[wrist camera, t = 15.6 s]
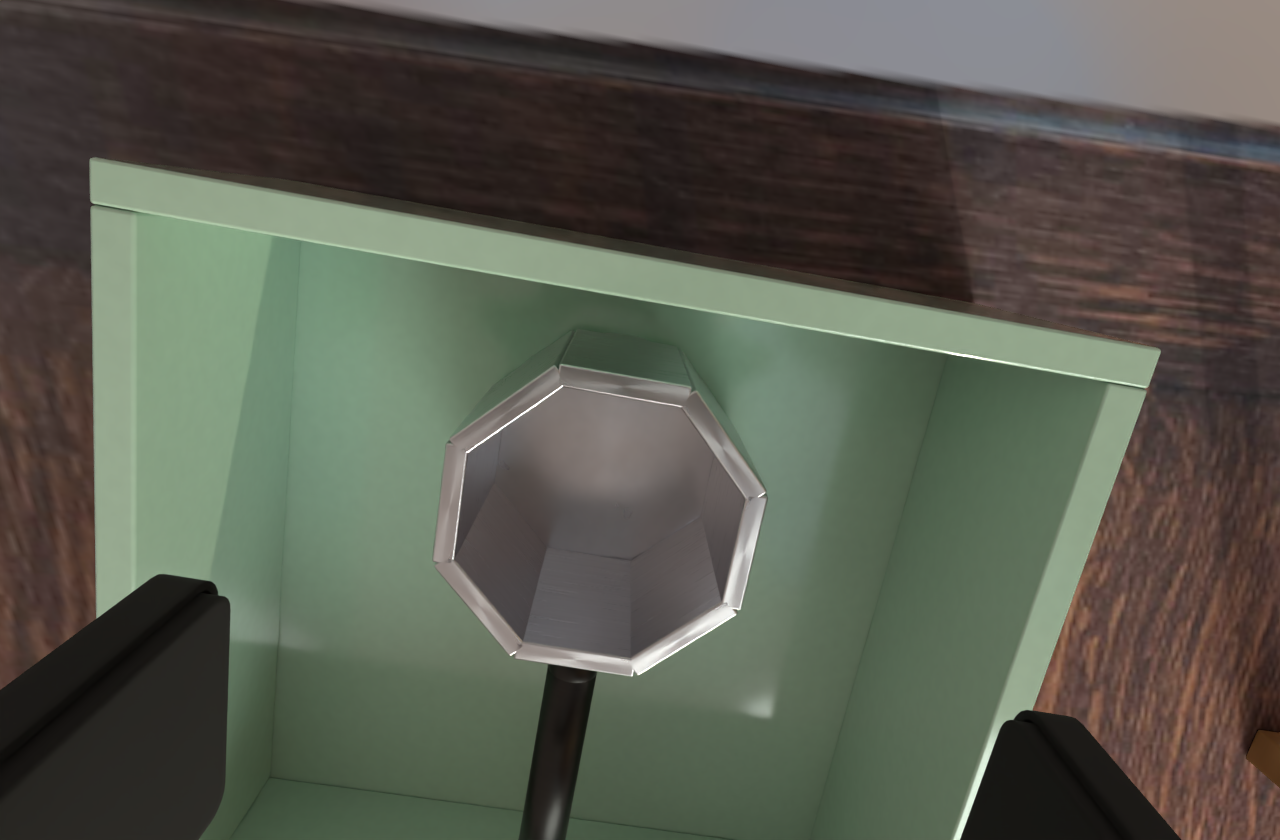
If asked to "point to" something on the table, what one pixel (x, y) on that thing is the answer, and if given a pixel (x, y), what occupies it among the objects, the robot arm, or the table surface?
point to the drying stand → (1266, 754)
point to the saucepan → (595, 528)
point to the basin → (410, 488)
